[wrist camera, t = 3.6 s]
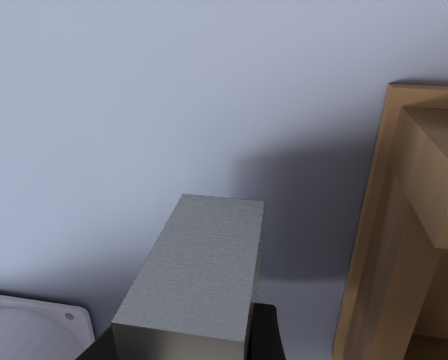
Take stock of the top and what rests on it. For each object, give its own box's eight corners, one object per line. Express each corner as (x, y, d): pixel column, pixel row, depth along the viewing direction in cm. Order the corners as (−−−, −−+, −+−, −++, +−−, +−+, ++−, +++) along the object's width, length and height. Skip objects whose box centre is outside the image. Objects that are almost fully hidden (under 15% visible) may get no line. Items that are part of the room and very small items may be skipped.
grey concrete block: (189, 312, 16) (138, 466, 11) (182, 193, 13) (110, 322, 8) (257, 321, 16) (238, 487, 10) (264, 201, 13) (244, 341, 8)
